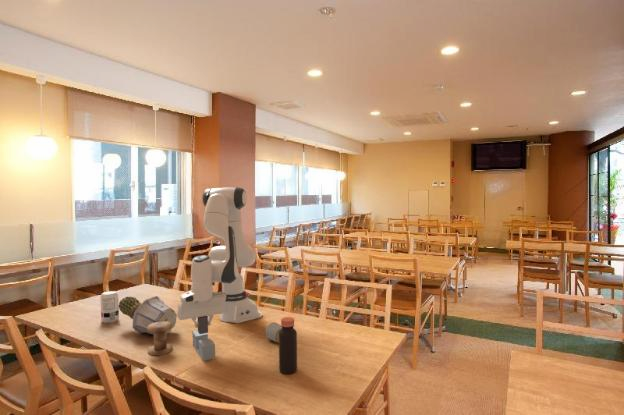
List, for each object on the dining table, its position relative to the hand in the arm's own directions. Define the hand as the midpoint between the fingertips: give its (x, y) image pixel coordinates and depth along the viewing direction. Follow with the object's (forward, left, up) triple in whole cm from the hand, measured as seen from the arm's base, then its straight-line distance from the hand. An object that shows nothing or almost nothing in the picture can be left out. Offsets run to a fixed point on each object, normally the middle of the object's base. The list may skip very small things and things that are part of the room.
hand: (202, 326), depth 163 cm
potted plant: (+19, -37, -11) cm, 43 cm away
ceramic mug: (-33, +5, -11) cm, 35 cm away
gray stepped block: (0, 0, -11) cm, 11 cm away
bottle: (-24, +34, -11) cm, 43 cm away
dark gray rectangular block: (0, 0, -3) cm, 3 cm away
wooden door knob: (+16, -10, -11) cm, 22 cm away
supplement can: (+34, -63, -11) cm, 72 cm away
